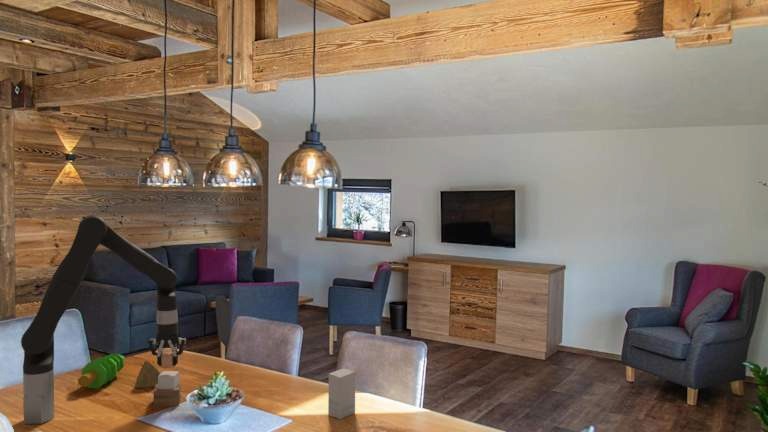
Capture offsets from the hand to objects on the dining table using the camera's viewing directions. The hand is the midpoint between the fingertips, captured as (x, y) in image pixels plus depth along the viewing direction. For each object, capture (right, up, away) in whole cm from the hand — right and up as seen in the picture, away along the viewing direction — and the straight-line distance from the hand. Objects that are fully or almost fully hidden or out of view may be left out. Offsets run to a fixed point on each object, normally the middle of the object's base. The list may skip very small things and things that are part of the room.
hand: (167, 365), depth 228 cm
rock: (-13, -13, +18) cm, 26 cm away
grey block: (0, -8, +1) cm, 8 cm away
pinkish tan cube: (0, 0, 0) cm, 0 cm away
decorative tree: (-34, -13, +23) cm, 43 cm away
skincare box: (+67, -15, -10) cm, 69 cm away
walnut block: (0, -14, 0) cm, 14 cm away
